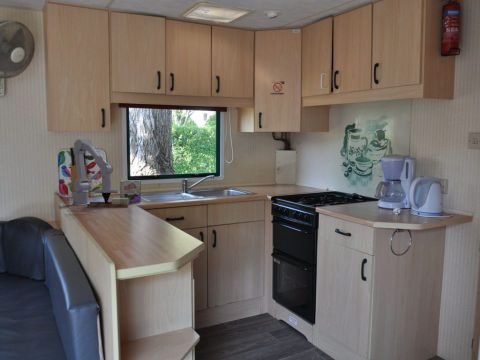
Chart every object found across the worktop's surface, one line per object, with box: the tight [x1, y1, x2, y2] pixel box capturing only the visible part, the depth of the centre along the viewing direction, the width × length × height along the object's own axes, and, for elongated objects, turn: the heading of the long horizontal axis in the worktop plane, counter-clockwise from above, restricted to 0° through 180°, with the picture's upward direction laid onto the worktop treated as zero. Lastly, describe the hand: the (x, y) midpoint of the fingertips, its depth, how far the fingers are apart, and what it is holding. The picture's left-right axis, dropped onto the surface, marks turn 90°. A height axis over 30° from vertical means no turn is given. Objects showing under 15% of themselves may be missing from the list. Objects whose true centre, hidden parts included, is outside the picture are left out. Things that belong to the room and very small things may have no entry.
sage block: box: [119, 197, 128, 204], centre depth 283 cm, size 5×6×5 cm
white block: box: [111, 197, 120, 204], centre depth 282 cm, size 5×6×5 cm
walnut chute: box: [86, 201, 130, 208], centre depth 282 cm, size 25×13×3 cm, turn 100°
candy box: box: [119, 179, 142, 203], centre depth 301 cm, size 14×6×16 cm, turn 105°
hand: (106, 204), depth 281 cm, fingers closed
